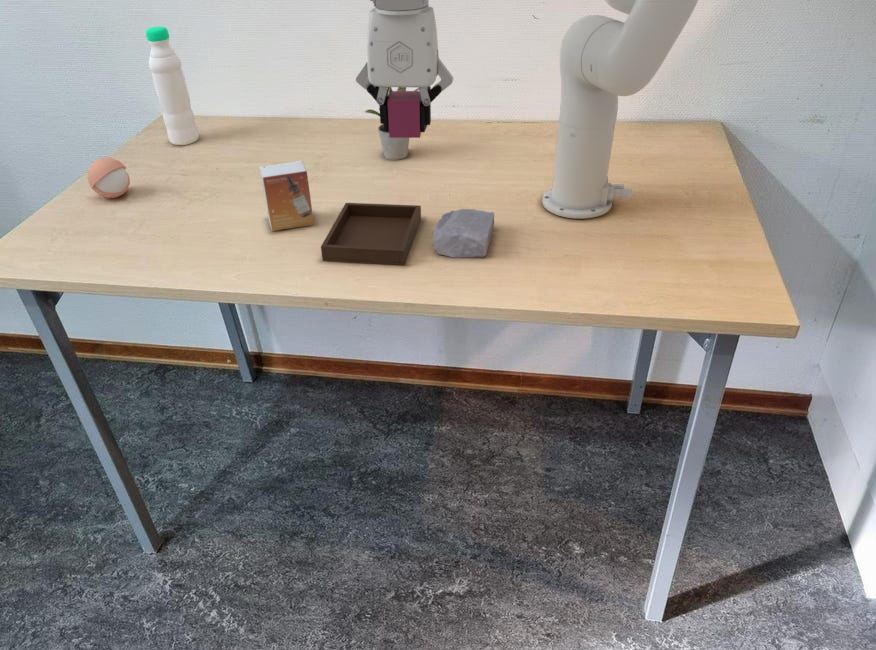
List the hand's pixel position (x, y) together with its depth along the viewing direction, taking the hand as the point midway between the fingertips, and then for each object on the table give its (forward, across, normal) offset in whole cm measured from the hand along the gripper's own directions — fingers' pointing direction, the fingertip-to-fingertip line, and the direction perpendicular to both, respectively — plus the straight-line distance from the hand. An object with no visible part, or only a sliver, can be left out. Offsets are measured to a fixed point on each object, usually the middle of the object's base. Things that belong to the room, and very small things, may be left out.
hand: (405, 127), depth 103 cm
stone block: (+20, +9, +1) cm, 22 cm away
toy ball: (+21, -64, +14) cm, 69 cm away
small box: (+20, -23, +5) cm, 31 cm away
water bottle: (+20, -63, +44) cm, 80 cm away
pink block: (+1, 0, 0) cm, 1 cm away
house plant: (+20, -9, +37) cm, 43 cm away
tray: (+20, -6, 0) cm, 21 cm away
